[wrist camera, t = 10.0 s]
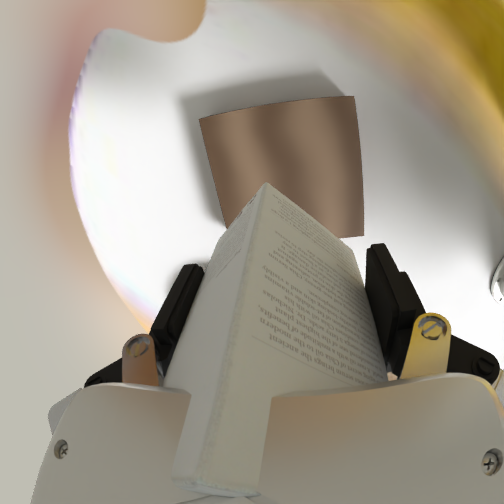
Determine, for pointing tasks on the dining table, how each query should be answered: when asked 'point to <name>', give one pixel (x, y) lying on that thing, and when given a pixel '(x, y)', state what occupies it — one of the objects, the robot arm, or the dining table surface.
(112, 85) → the dining table surface
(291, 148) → the walnut base
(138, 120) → the dining table surface
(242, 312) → the skincare box
